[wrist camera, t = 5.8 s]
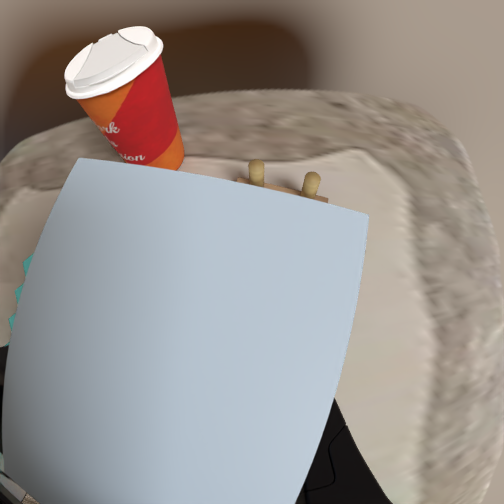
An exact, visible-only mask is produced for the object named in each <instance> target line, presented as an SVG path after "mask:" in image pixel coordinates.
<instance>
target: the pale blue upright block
mask: <svg viewBox="0 0 504 504" xmlns="http://www.w3.org/2000/svg"><path fill="white" fill-rule="evenodd" d="M368 222H369V215H368V214H364V213H361V212H357V211H354V210H350V209H347V208H343V207H340V206H336V205H332V204H328V203H325V202H321V201H317V200H313V199H309V198H305V197H301V196H297V195H293V194H289V193H284V192H280V191H276V190H271V189H267V188H263V187H258V186H253V185H249V184H244V183H239V182H234V181H229V180H224V179H219V178H214V177H209V176H203V175H198V174H192V173H187V172H181V171H175V170H169V169H162V168H156V167H149V166H143V165H135V164H128V163H121V162H113V161H104V160H95V159H86V158H78V160H77V162H76V164H75V165H74V167H73V169H72V171H71V173H70V174H69V176H68V178H67V180H66V182H65V184H64V186H63V188H62V190H61V192H60V194H59V196H58V198H57V200H56V202H55V204H54V206H53V208H52V211H51V213H50V215H49V217H48V219H47V222H46V224H45V226H44V229H43V231H42V234H41V236H40V239H39V241H38V244H37V246H36V249H35V252H34V255H33V257H32V260H31V263H30V266H29V269H28V272H27V275H26V278H25V282H24V285H23V288H22V292H21V295H20V299H19V303H18V307H17V311H16V315H15V319H14V323H13V328H12V333H11V338H10V344H9V349H8V356H7V363H6V370H5V379H4V390H3V407H2V444H3V460H4V471H5V473H6V474H7V475H8V476H9V477H10V478H11V479H12V480H13V481H14V482H15V483H16V484H18V485H19V486H20V487H21V488H22V489H23V490H24V491H25V492H27V493H28V494H29V495H30V496H31V497H33V498H34V499H35V500H36V501H38V502H39V503H40V504H295V502H296V500H297V497H298V495H299V493H300V491H301V488H302V486H303V484H304V481H305V479H306V476H307V474H308V471H309V469H310V466H311V464H312V461H313V459H314V456H315V453H316V451H317V448H318V445H319V442H320V440H321V437H322V434H323V431H324V428H325V425H326V422H327V419H328V416H329V413H330V409H331V406H332V403H333V400H334V396H335V393H336V389H337V386H338V382H339V378H340V375H341V371H342V367H343V363H344V359H345V355H346V351H347V347H348V343H349V338H350V334H351V329H352V324H353V320H354V315H355V309H356V304H357V299H358V293H359V288H360V282H361V275H362V269H363V262H364V255H365V247H366V239H367V231H368Z"/></svg>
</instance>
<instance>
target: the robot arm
mask: <svg viewBox="0 0 504 504" xmlns="http://www.w3.org/2000/svg"><path fill="white" fill-rule="evenodd" d="M8 349H9V345H7V346H3V347H0V504H23V503H22V501H23V499H24V498H25V496H26V494H27V492H25V491H24V490H23V489H22V488H21V487H20V486H19V485H18V484H16V483H15V482H14V481H13V480H12V479H11V478H10V477H9V476H8V475H7V474H6V473H5V471H4V460H3V444H2V407H3V390H4V379H5V370H6V363H7V356H8ZM295 504H393V503H392V502H391V501H390V500H389V499H388V498H387V496H386V495H385V493H384V492H383V490H382V489H381V487H380V485H379V484H378V482H377V480H376V479H375V477H374V475H373V474H372V472H371V471H370V469H369V467H368V466H367V464H366V462H365V460H364V459H363V457H362V455H361V453H360V452H359V450H358V448H357V446H356V444H355V442H354V440H353V437H352V435H351V433H350V431H349V429H348V426H347V425H346V422H345V420H344V418H343V415H342V413H341V411H340V409H339V406H338V404H337V402H336V400H335V398H334V400H333V403H332V406H331V409H330V413H329V416H328V419H327V422H326V425H325V428H324V431H323V434H322V437H321V440H320V442H319V445H318V448H317V451H316V453H315V456H314V459H313V461H312V464H311V466H310V469H309V471H308V474H307V476H306V479H305V481H304V484H303V486H302V488H301V491H300V493H299V495H298V497H297V500H296V502H295Z"/></svg>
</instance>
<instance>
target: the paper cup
mask: <svg viewBox="0 0 504 504" xmlns="http://www.w3.org/2000/svg"><path fill="white" fill-rule="evenodd" d="M118 32H119V35H118V33H116V34H114V35H112V34H110V35H108V36H106V37H104V38H101V39H99V42H97V43H95V44H94V45H93V43H91V44H90V45H88V46H87V47H86V48H84V49H83V50H82V51H81V52H79V53H78V54H77V55H76V56H75V57H74V58H73V59H72V61H71V62H70V63H69V65H68V66H67V68H66V70H65V80H66V93H67V95H68V96H69V97H71V98H73V99H76V100H77V101H78V102H79V103H80V105H81V106H82V107H83V109H84V110H85V111H86V113H87V114H88V115H89V117H90V118H91V119H92V121H93V122H94V123H95V124H96V126H97V127H98V128H99V130H100V131H101V132H102V133H103V135H104V136H105V137H106V139H107V140H108V141H109V142H110V144H111V145H112V146H113V147H114V149H115V150H116V151H117V152H118V154H119V155H120V156H121V157H122V158H123V160H124V161H125V162H126V163H128V164H135V165H143V166H149V167H156V168H162V169H169V170H175V171H177V169H178V168H179V167H180V166H181V164H182V162H183V159H184V147H183V143H182V138H181V134H180V130H179V126H178V123H177V119H176V115H175V111H174V107H173V103H172V99H171V95H170V91H169V87H168V83H167V79H166V75H165V71H164V66H163V62H162V58H161V51H162V49H163V43H162V41H161V40H160V39H159V38H158V37H156V36H155V35H154V33H153V32H152V31H151V30H150V29H149V28H147V27H140V26H138V27H129V28H125V29H121V30H119V31H118Z"/></svg>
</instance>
